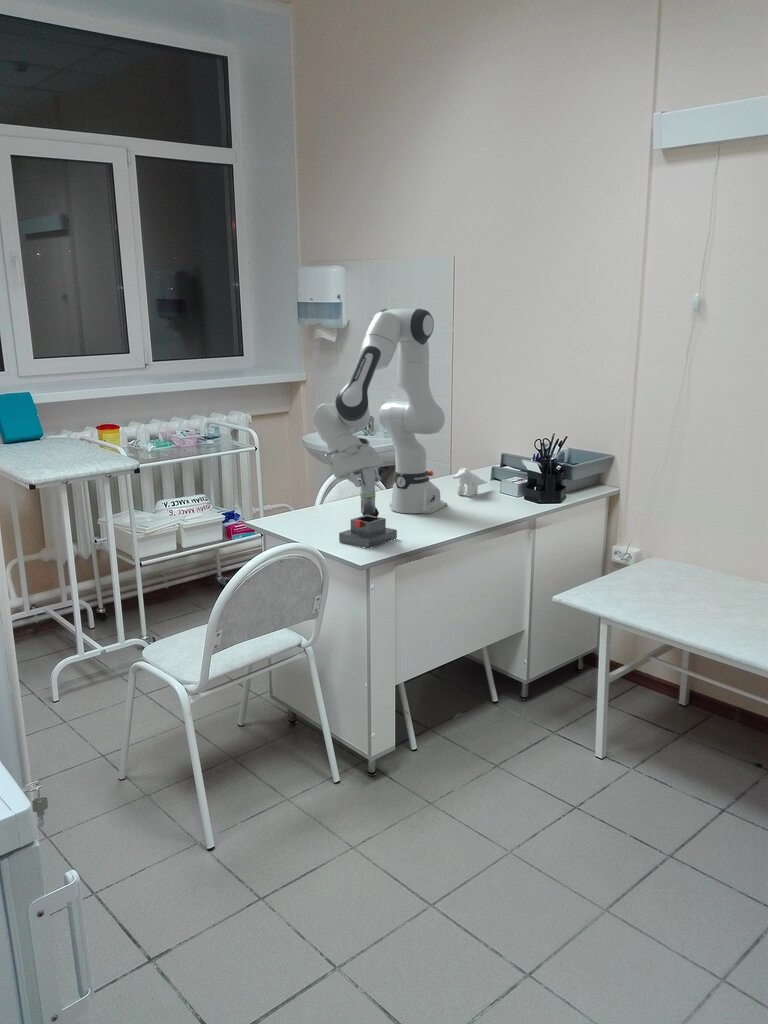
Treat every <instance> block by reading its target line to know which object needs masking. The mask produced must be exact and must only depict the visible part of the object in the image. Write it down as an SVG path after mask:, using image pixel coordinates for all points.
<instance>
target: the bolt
mask: <svg viewBox="0 0 768 1024" xmlns="http://www.w3.org/2000/svg"><path fill="white" fill-rule="evenodd" d="M361 514H362V516H364V515H370V516H375V517H379V514H380V513H379V510H378V508H377V507H376V506H375V513H373V514H363V513H361Z"/></svg>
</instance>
